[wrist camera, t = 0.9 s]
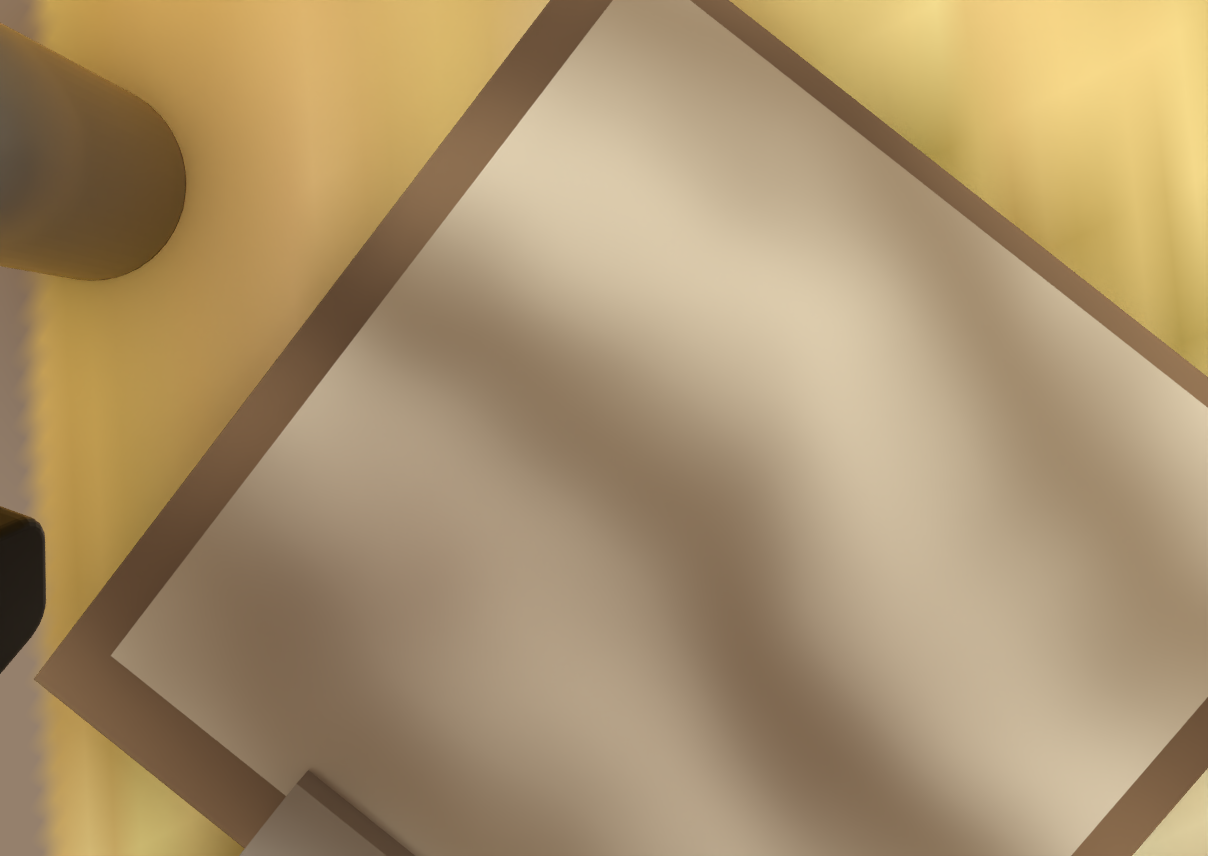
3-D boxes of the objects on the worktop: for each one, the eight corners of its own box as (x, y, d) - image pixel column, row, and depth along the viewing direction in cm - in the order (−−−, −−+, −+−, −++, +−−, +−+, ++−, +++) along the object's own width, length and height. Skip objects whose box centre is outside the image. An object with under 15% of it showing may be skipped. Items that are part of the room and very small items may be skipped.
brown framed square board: (768, 1238, 22) (777, 1310, 20) (56, 668, 22) (6, 692, 21) (1380, 529, 21) (1444, 543, 19) (618, -70, 21) (615, -109, 19)
